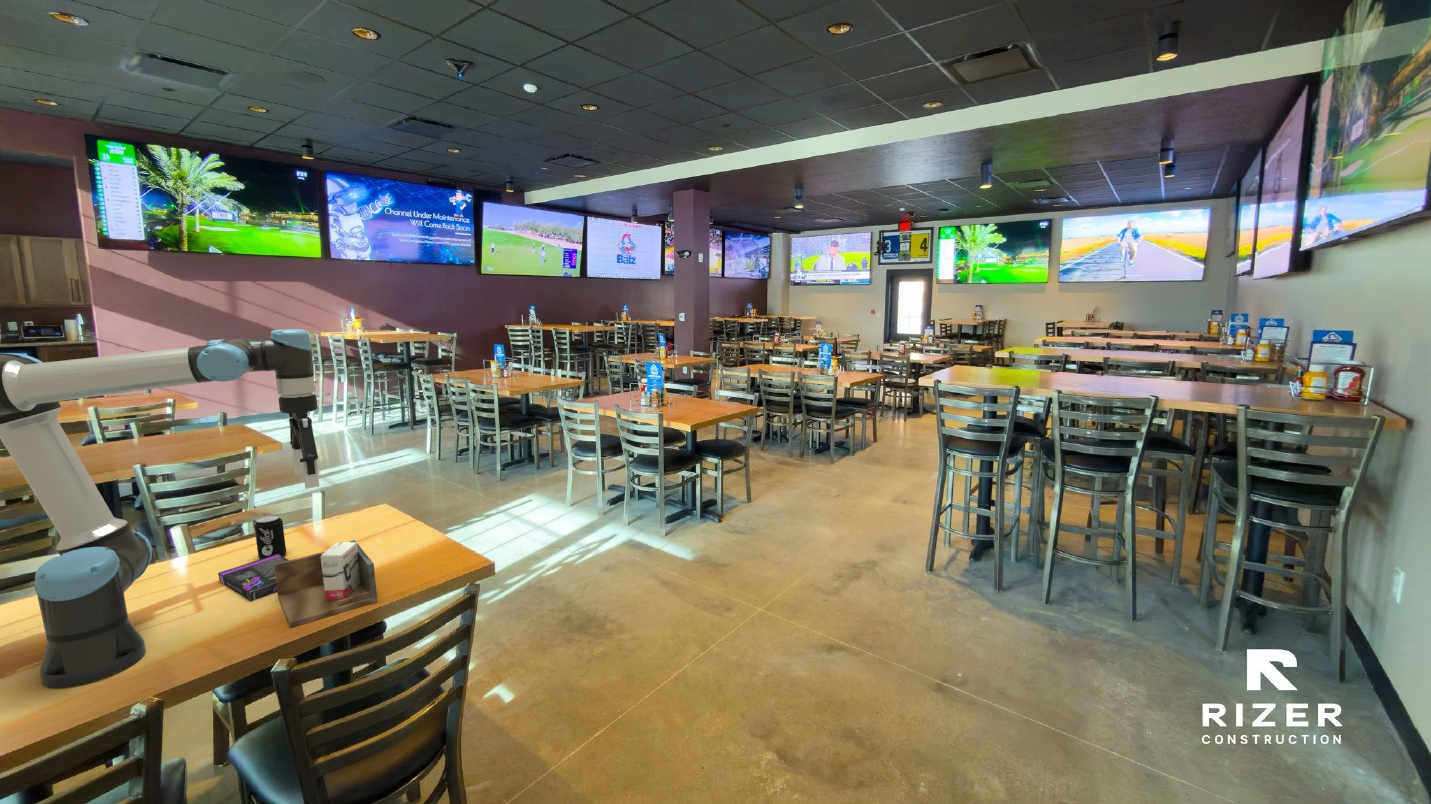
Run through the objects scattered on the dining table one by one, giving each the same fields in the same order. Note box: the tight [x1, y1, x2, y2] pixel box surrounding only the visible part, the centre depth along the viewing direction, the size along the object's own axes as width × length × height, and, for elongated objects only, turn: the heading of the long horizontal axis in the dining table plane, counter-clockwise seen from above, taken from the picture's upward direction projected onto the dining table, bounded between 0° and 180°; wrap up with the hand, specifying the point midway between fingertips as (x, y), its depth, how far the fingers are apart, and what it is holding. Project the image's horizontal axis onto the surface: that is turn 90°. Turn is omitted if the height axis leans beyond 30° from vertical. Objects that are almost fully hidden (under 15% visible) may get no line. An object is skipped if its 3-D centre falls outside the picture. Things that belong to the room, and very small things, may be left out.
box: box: [217, 554, 289, 602], centre depth 162 cm, size 14×4×20 cm
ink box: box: [321, 541, 361, 600], centre depth 153 cm, size 8×5×12 cm, turn 7°
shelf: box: [274, 540, 378, 628], centre depth 152 cm, size 18×19×10 cm
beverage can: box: [253, 514, 287, 560], centre depth 175 cm, size 7×7×12 cm
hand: (307, 480), depth 149 cm, fingers open, 13 cm apart
